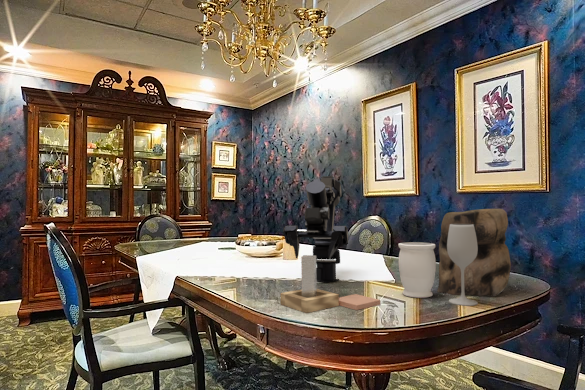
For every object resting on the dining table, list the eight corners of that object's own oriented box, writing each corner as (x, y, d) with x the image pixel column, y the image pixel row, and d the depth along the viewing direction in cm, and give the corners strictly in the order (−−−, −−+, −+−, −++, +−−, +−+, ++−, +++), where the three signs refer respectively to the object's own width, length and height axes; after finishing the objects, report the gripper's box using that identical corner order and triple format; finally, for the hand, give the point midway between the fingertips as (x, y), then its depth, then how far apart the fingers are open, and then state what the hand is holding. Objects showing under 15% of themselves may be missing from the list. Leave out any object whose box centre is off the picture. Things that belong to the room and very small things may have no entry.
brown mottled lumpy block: (508, 300, 108) (506, 209, 109) (432, 292, 119) (430, 209, 120) (514, 287, 125) (512, 208, 125) (446, 281, 136) (445, 208, 136)
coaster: (355, 298, 112) (355, 294, 112) (380, 304, 105) (380, 299, 105) (332, 303, 107) (332, 298, 107) (356, 310, 100) (356, 305, 100)
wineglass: (482, 306, 102) (480, 225, 103) (450, 305, 104) (449, 225, 104) (474, 299, 110) (473, 223, 110) (445, 298, 111) (444, 223, 112)
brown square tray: (311, 298, 113) (311, 287, 113) (338, 305, 104) (338, 294, 104) (280, 304, 106) (280, 293, 106) (306, 313, 98) (306, 300, 98)
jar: (417, 300, 109) (416, 246, 109) (391, 293, 118) (390, 243, 118) (444, 296, 114) (443, 244, 114) (417, 289, 123) (417, 241, 123)
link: (304, 303, 107) (303, 255, 108) (316, 303, 107) (316, 255, 107) (301, 306, 104) (301, 256, 104) (314, 307, 103) (314, 257, 104)
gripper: (284, 198, 119) (274, 238, 107) (346, 198, 114) (343, 239, 103) (290, 224, 126) (282, 263, 115) (349, 224, 122) (346, 265, 111)
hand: (312, 257), depth 111 cm, fingers open, 9 cm apart
